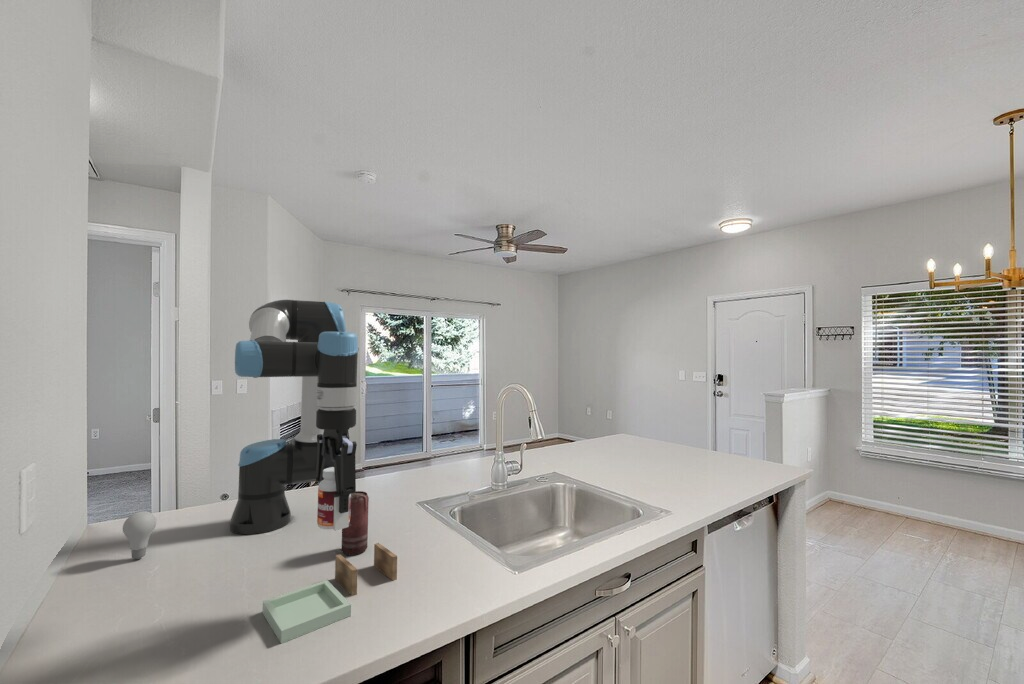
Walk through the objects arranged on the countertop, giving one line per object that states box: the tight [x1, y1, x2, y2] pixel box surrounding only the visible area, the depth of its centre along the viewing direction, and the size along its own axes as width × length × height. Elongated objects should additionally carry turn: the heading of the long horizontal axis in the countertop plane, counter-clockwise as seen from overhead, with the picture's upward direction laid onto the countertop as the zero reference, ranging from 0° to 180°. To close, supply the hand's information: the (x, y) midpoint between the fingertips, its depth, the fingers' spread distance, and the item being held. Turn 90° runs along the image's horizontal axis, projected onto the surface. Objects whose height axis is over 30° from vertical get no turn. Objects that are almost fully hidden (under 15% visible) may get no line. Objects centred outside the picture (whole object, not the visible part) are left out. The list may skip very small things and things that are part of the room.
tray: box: [262, 579, 352, 644], centre depth 83 cm, size 12×12×2 cm
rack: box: [334, 542, 398, 596], centre depth 96 cm, size 9×10×5 cm
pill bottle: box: [316, 467, 351, 530], centre depth 88 cm, size 6×6×11 cm
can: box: [340, 490, 370, 557], centre depth 110 cm, size 6×6×14 cm
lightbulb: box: [122, 510, 157, 560], centre depth 104 cm, size 6×6×11 cm
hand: (333, 523), depth 88 cm, fingers closed on pill bottle, 6 cm apart
